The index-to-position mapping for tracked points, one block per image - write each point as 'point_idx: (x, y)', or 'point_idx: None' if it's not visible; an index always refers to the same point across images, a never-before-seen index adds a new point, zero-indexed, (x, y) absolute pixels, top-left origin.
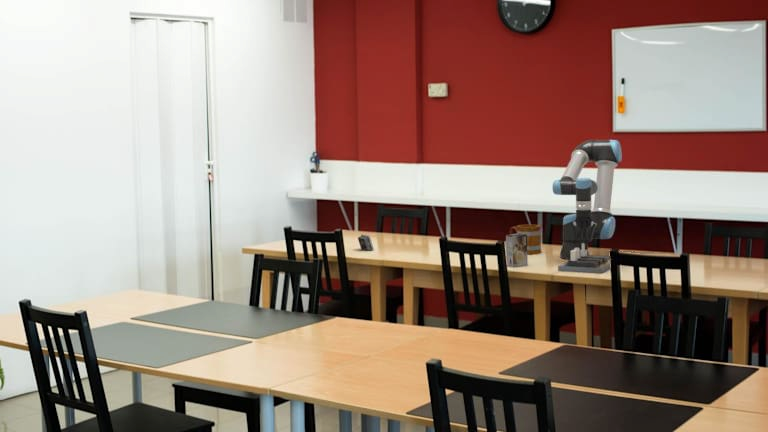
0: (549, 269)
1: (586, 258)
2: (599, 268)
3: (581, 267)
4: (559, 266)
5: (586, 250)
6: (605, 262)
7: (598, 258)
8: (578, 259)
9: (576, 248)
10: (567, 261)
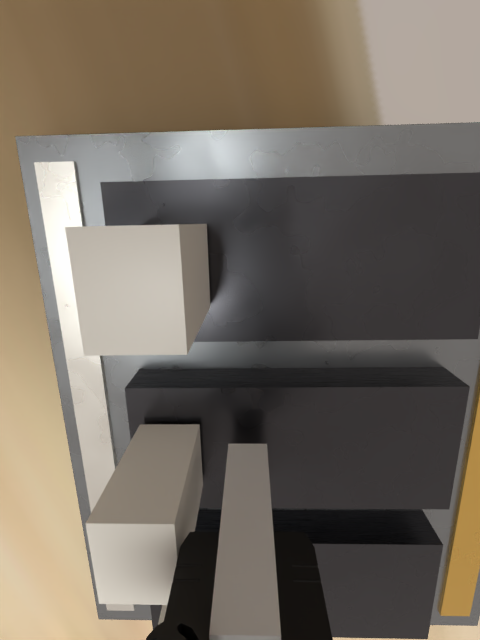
0: (25, 540)
1: (268, 420)
2: (454, 623)
3: None
4: (111, 616)
5: (197, 252)
6: (465, 340)
7: (397, 337)
8: (205, 501)
9: (136, 602)
10: (64, 403)
